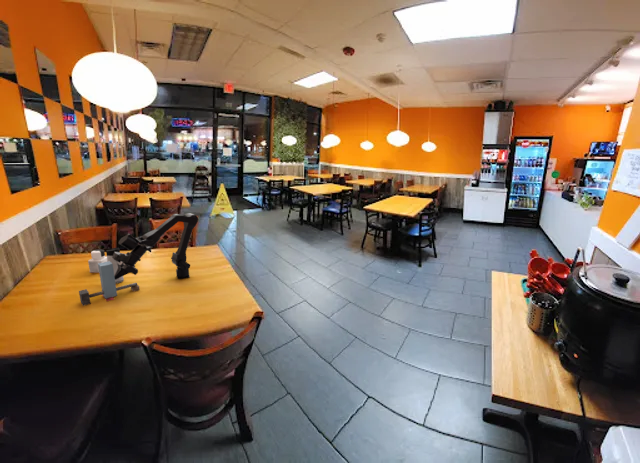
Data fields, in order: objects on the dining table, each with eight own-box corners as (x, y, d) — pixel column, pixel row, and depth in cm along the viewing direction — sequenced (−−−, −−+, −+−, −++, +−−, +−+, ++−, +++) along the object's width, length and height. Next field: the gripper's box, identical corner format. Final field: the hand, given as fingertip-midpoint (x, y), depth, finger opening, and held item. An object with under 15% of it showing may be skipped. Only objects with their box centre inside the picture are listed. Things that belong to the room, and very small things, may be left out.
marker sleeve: (114, 292, 152) (109, 261, 147) (117, 295, 149) (112, 263, 144) (102, 295, 148) (97, 263, 144) (105, 298, 145) (100, 266, 140)
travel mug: (117, 284, 161) (112, 250, 156) (107, 282, 163) (102, 249, 157) (127, 279, 167) (122, 247, 162) (117, 278, 169) (112, 246, 163)
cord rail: (135, 285, 161) (134, 275, 160) (141, 291, 155) (140, 281, 153) (79, 300, 143) (77, 289, 142) (84, 307, 137) (82, 296, 135)
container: (98, 267, 182) (94, 248, 178) (111, 267, 183) (108, 248, 179) (89, 272, 174) (86, 252, 171) (103, 272, 175) (100, 252, 172)
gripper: (117, 242, 154) (94, 266, 149) (128, 250, 142) (104, 277, 137) (135, 252, 162) (114, 276, 156) (147, 262, 150) (125, 287, 144)
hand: (114, 279), depth 148 cm, fingers closed, pressing on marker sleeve
